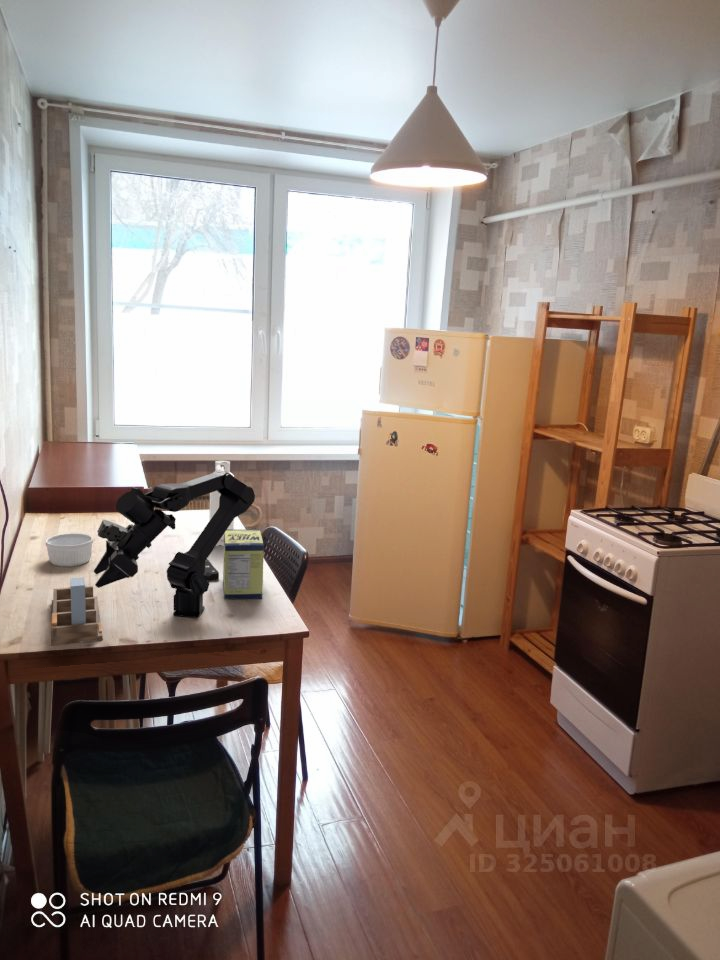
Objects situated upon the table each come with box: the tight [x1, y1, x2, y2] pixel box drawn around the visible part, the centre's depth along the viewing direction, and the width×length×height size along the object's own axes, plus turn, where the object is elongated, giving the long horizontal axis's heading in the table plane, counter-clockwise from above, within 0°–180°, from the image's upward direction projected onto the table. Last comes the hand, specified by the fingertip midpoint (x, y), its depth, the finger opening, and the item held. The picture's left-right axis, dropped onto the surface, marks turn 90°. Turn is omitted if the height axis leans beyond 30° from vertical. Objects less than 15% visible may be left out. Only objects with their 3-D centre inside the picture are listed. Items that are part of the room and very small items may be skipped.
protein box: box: [222, 529, 265, 600], centre depth 199 cm, size 10×16×16 cm
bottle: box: [208, 460, 235, 545], centre depth 238 cm, size 8×8×28 cm
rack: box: [50, 585, 103, 646], centre depth 173 cm, size 11×25×5 cm, turn 23°
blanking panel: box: [69, 576, 86, 625], centre depth 165 cm, size 3×6×12 cm, turn 23°
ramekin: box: [45, 532, 94, 567], centre depth 214 cm, size 13×13×7 cm
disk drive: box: [203, 558, 220, 582], centre depth 210 cm, size 10×3×15 cm
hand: (95, 579), depth 165 cm, fingers open, 9 cm apart
